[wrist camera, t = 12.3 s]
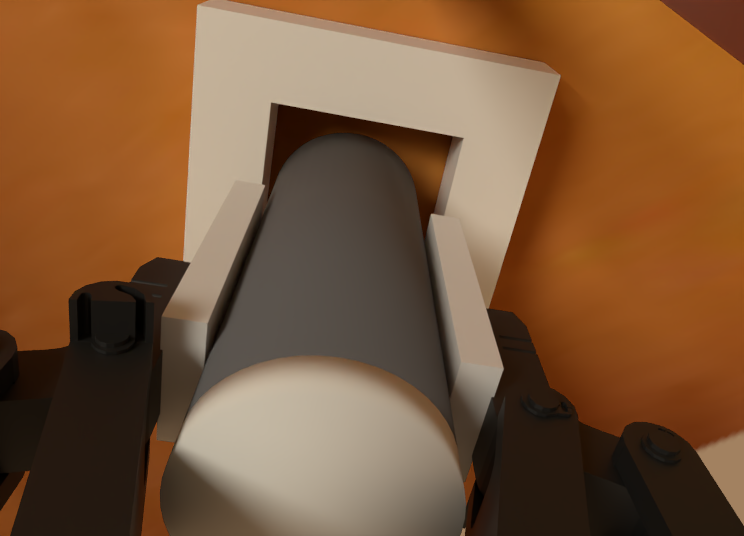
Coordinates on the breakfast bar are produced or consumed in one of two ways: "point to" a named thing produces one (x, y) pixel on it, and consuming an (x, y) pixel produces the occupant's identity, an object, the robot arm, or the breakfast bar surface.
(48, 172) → the breakfast bar surface
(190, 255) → the socket
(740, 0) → the clip
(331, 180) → the dark grey cylinder
